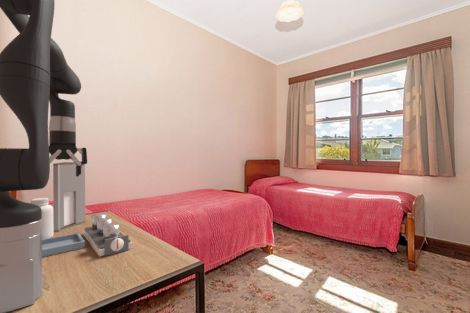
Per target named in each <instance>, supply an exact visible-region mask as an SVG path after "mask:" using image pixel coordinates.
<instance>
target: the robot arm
mask: <svg viewBox="0 0 470 313" xmlns="http://www.w3.org/2000/svg"><path fill="white" fill-rule="evenodd" d="M0 10H2V12H3V13H4V14H5V16H6V17H7V19H8V20H9V21H10V22H11V24H12V25H13V27H14V28H15V29H16V30H17V32H18V34H17V35H16V36H15V37H14V38H13V39H12V40H11V41H10V42H9V43H8V44H7V45H6V46H5V47H4V48H3V49H2V51H1V52H0V97H1V98H2V100H3V101H4V102H5V104H6V105H7V106H8V108H9V109H10V110H11V111H12V113H13V114H14V115H15V116H16V118H17V119H18V121H19V122H20V123H21V125H22V127H23V128H24V130H25V132H26V135H27V139H28V148H23V147H22V148H13V147H12V148H11V147H10V148H7V147H5V148H3V147H2V148H0V313H9V312H13V311H15V310H19V309H22V308H25V307H28V306H31V305H34V304H35V301H37V300H38V299H39V298H40V297H41V296H42V294H43V257H42V210H41V207H40V206H38V205H35V204H31V202H25V201H22V200H19V199H18V198H15V197H13V196H12V195H11V193H10V192H15V191H33V190H34V191H35V190H36V191H37V190H42V189H44V188H45V187H47V185H48V182H49V181H50V180H49V179H50V171H51V168H50V167H51V165H50V164H51V163H53V162H54V160H57V161H58V160H65V161H66V160H67V161H68V160H71V161H73V162H74V163H75V164H76V177H78V176H79V175H81V166H82V165H84V164H85V165H86V164H88V155H87V154H88V152H87V148H86V147H80V148H78V147H77V133H76V132H77V131H76V130H77V128H76V126H77V125H76V112H75V111H76V106H75V103H74V102H73V101H70V100H67V99H62V98H60V96H59V94H60V95H77V94H79V93H80V91H81V89H82V83H81V80H80V79H79V76H78V75H77V74H76V72H74V70H73V69H72V68H71V67H70V65H68V63H67V60H66V57H65V54H64V53H63V50H62V49H61V47H60V46H59V44H58V43H57V42H56V41H55V40H54V39H53V38H52V34H53V23H54V17H55V16H54V15H55V0H0ZM49 107H50V108H49ZM49 110H50V113H49ZM49 114H50V115H49ZM77 152H78V153H79V154H81V161H80V160H79V159H78V158H77V156H76V153H77Z"/></svg>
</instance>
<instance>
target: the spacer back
mask: <svg viewBox="0 0 470 313" xmlns="http://www.w3.org/2000/svg"><path fill="white" fill-rule="evenodd" d="M102 218H107V213H95V214H93V215H91V227H92V229H97V220H99V219H102Z"/></svg>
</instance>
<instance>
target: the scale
mask: <svg viewBox="0 0 470 313" xmlns="http://www.w3.org/2000/svg"><path fill="white" fill-rule="evenodd" d="M82 235H83V237H85V239H86V240H87V241H88V243H89V244H90V246H91V247H92V249H93V250H94V252H95V253H96V254H97V256H98V257H104V256H105V257H107V256H110V255H111V256H112V255H115V254H118V253H123V252H127V251H129V250H131V249H133V241H132V240H130V239H129V234H123V233H122V232H120V231H119V237H114V238H109V239H105V240H104V242H103V235H97V229H92V226H86V227H84V228H82Z"/></svg>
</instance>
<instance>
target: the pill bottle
mask: <svg viewBox="0 0 470 313" xmlns="http://www.w3.org/2000/svg"><path fill="white" fill-rule="evenodd" d="M29 203H30V204H35V205H38V206H40V207H41V210H42V239H47V238H52V237H54V233H55V232H54V206H53V205H51V204H49V203H50V200H49V198H48V197H37V198H32V199H30V202H29Z"/></svg>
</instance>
